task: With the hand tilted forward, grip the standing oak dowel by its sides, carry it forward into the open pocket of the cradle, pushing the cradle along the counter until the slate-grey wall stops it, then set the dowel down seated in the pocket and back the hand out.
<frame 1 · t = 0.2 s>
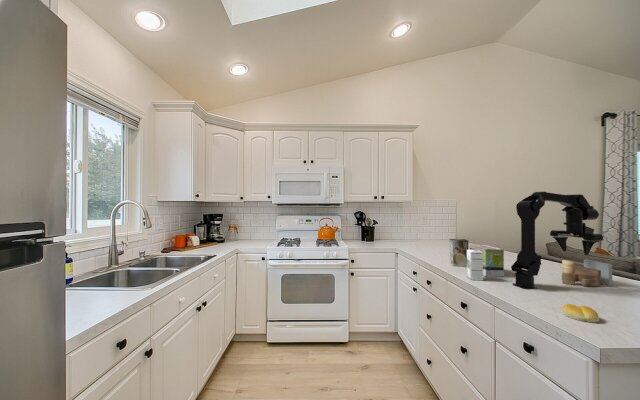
hand: (575, 253, 121), 15 cm above the worktop, tool pointing down, fingers open, 9 cm apart
backstop wall: (597, 282, 124), on the worktop
tea box: (485, 273, 140), on the worktop
coffee box: (459, 265, 158), on the worktop
bread roll: (580, 318, 86), on the worktop
cradle: (580, 275, 123), point 4 cm above the worktop, slide at 0.0 cm
dowel: (568, 283, 122), on the worktop
syrup box: (474, 279, 130), on the worktop
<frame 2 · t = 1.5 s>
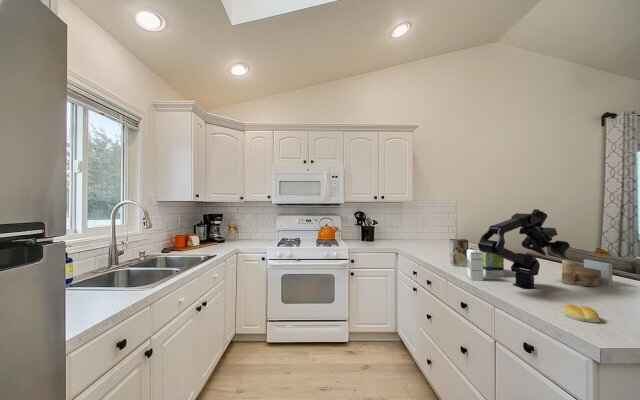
hand: (554, 256, 121), 13 cm above the worktop, tool tilted 45°, fingers open, 9 cm apart
nothing on the worktop moved.
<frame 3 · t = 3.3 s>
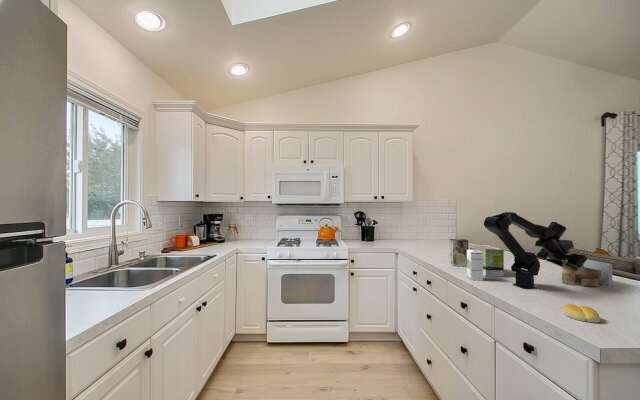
hand: (571, 268, 122), 7 cm above the worktop, tool tilted 45°, fingers closed on dowel, 4 cm apart
dowel: (568, 283, 122), on the worktop, touching gripper
everything else where it was.
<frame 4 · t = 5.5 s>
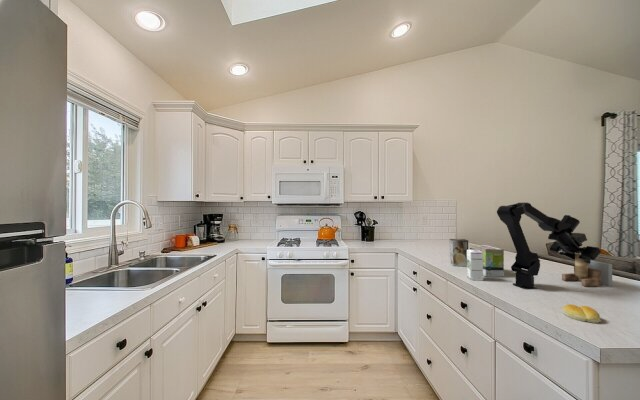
hand: (583, 261, 123), 10 cm above the worktop, tool tilted 45°, fingers closed on dowel, 4 cm apart
cradle: (580, 275, 123), point 4 cm above the worktop, slide at 0.0 cm, touching dowel
dowel: (581, 276, 123), point 3 cm above the worktop, touching cradle, gripper
everything else where it was.
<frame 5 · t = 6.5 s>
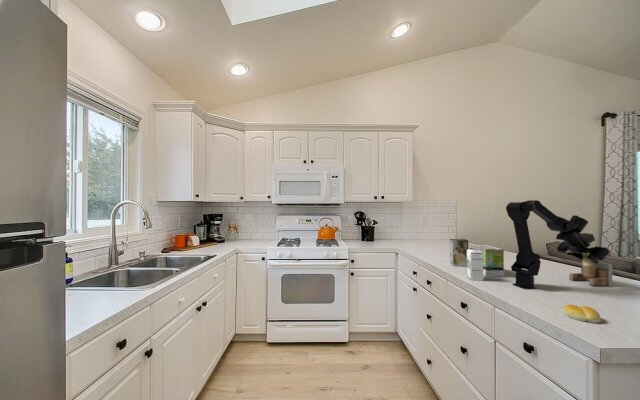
hand: (591, 262, 123), 10 cm above the worktop, tool tilted 45°, fingers closed on dowel, 4 cm apart
cradle: (588, 275, 123), point 4 cm above the worktop, slide at 4.3 cm, touching backstop wall, dowel
dowel: (589, 276, 123), point 3 cm above the worktop, touching cradle, gripper
everything else where it was.
when the fingers open (8 cm above the worktop, at t = 7.6 s): dowel drops 1 cm, resting in cradle.
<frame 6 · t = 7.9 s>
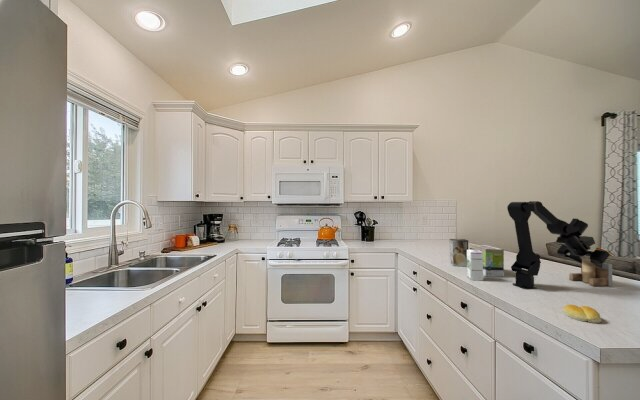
hand: (591, 265, 123), 9 cm above the worktop, tool tilted 45°, fingers open, 7 cm apart
cradle: (588, 275, 123), point 4 cm above the worktop, slide at 4.3 cm, touching backstop wall
dowel: (588, 282, 123), resting in cradle
everything else where it was.
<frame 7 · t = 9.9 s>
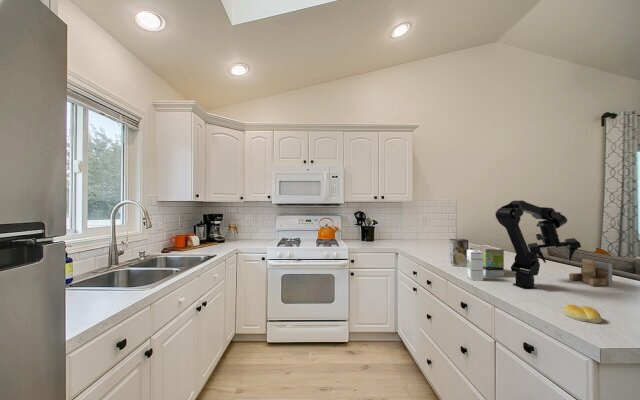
hand: (557, 261, 124), 10 cm above the worktop, tool tilted 20°, fingers open, 9 cm apart
nothing on the worktop moved.
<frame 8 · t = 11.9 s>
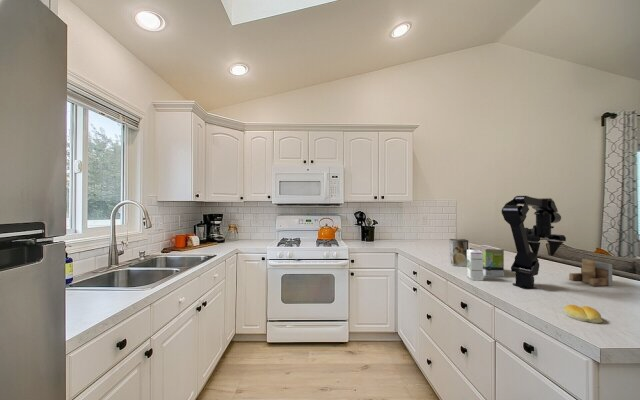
hand: (543, 255, 125), 13 cm above the worktop, tool pointing down, fingers open, 9 cm apart
nothing on the worktop moved.
at the end: cradle slide at 4.3 cm; dowel 0.9 cm off-centre on the cradle, point 0.0 cm above the cradle's base; dowel tilted 0° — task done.
